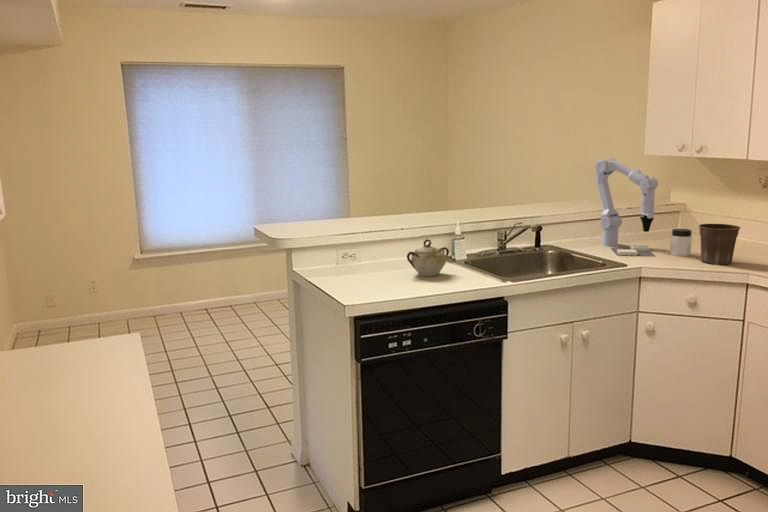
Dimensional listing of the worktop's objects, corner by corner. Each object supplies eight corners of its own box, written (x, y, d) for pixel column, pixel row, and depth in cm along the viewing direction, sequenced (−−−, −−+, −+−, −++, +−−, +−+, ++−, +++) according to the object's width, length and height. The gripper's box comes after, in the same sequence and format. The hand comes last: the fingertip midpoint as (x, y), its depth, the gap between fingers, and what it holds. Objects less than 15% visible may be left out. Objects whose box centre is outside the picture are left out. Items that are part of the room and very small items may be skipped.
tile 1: (617, 249, 305) (619, 251, 298) (634, 249, 303) (637, 252, 296) (616, 252, 305) (619, 255, 298) (634, 253, 303) (637, 255, 297)
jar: (685, 257, 293) (687, 231, 291) (667, 255, 299) (669, 230, 296) (693, 254, 299) (694, 229, 297) (675, 252, 305) (677, 228, 302)
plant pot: (742, 266, 272) (745, 229, 269) (700, 265, 275) (703, 228, 272) (731, 259, 287) (734, 223, 284) (692, 258, 291) (694, 223, 288)
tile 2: (629, 248, 315) (630, 245, 315) (647, 248, 313) (647, 245, 313) (632, 251, 308) (632, 247, 308) (650, 251, 307) (650, 248, 306)
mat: (610, 248, 319) (610, 247, 318) (646, 249, 315) (646, 248, 315) (617, 257, 297) (617, 255, 297) (656, 257, 294) (656, 256, 294)
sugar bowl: (415, 280, 258) (415, 243, 255) (399, 273, 271) (398, 238, 268) (457, 275, 266) (457, 239, 263) (439, 268, 279) (439, 234, 276)
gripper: (660, 204, 297) (658, 233, 299) (653, 201, 311) (651, 229, 313) (644, 204, 298) (642, 233, 301) (637, 201, 312) (636, 229, 315)
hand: (646, 231), depth 307 cm, fingers closed
